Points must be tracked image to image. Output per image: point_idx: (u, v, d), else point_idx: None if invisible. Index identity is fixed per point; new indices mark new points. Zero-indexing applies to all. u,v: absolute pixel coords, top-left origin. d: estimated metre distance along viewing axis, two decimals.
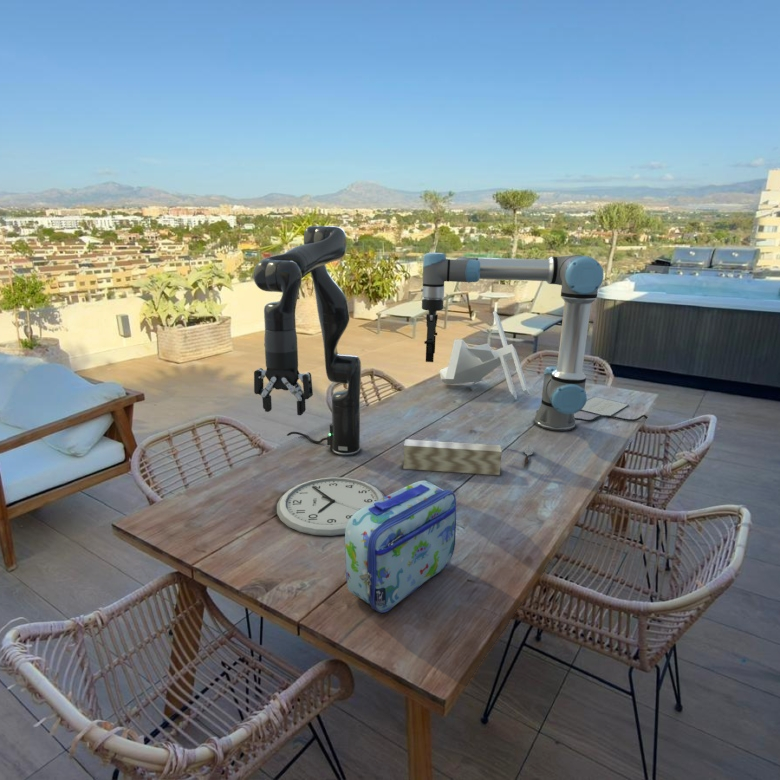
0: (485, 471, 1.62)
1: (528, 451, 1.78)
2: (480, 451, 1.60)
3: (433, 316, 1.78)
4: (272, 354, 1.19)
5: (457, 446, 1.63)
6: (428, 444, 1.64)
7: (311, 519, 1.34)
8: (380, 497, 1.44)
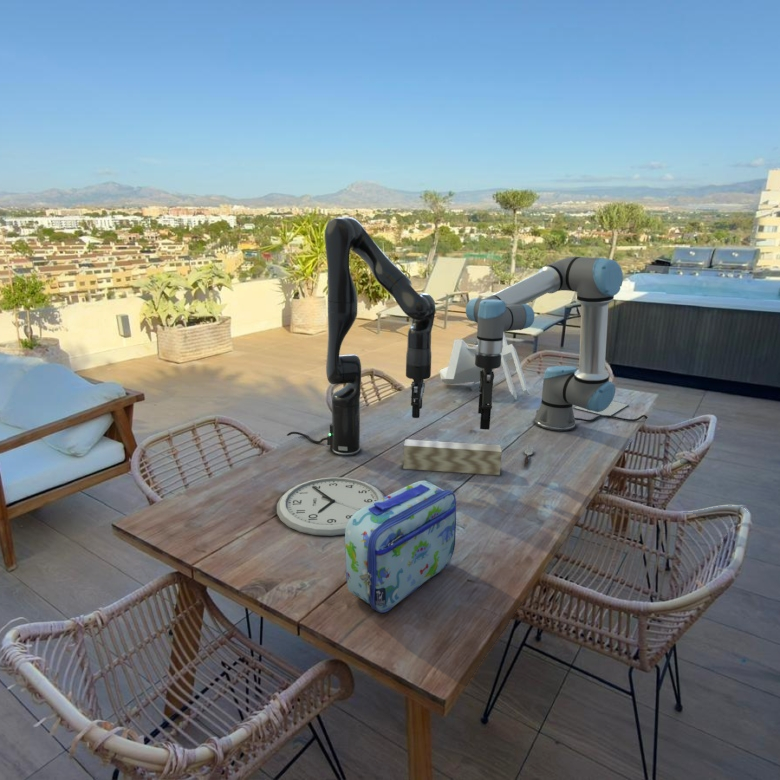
0: (485, 471, 1.62)
1: (528, 451, 1.78)
2: (480, 451, 1.60)
3: (491, 376, 1.49)
4: (430, 365, 1.56)
5: (457, 446, 1.63)
6: (428, 444, 1.64)
7: (311, 519, 1.34)
8: (380, 497, 1.44)
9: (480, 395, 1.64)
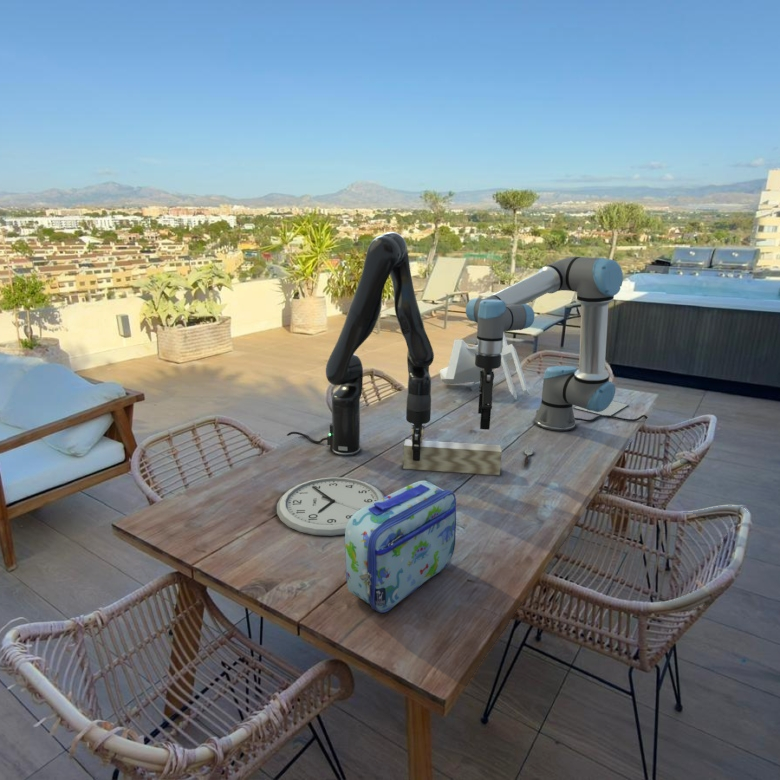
0: (485, 471, 1.62)
1: (528, 451, 1.78)
2: (480, 451, 1.60)
3: (491, 376, 1.49)
4: (430, 409, 1.60)
5: (457, 446, 1.63)
6: (428, 444, 1.64)
7: (311, 519, 1.34)
8: (380, 497, 1.44)
9: (480, 395, 1.64)
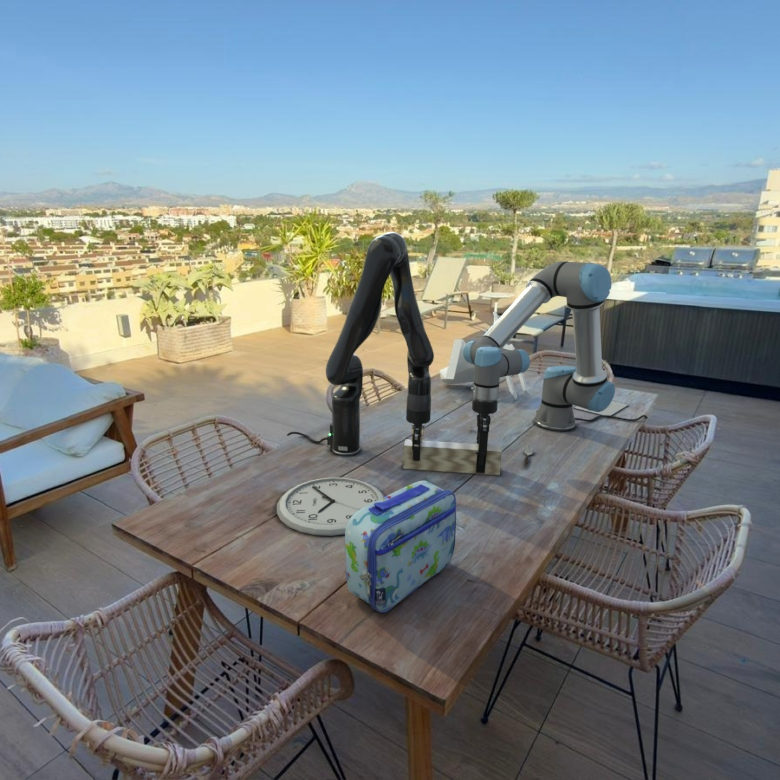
0: (485, 471, 1.62)
1: (528, 451, 1.78)
2: None
3: (487, 427, 1.53)
4: (430, 409, 1.60)
5: (457, 446, 1.63)
6: (428, 444, 1.64)
7: (311, 519, 1.34)
8: (380, 497, 1.44)
9: None
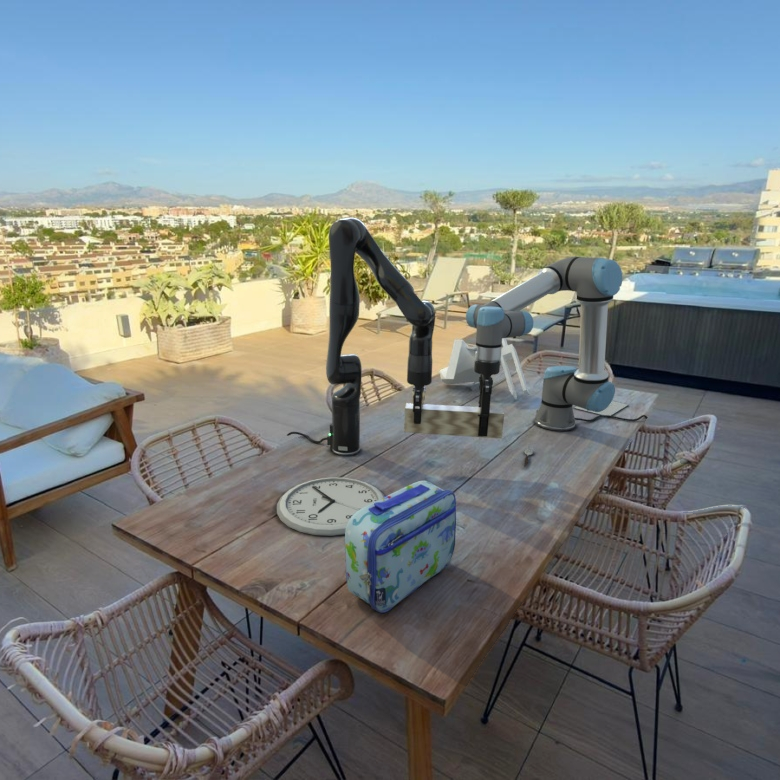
0: (487, 434, 1.60)
1: (528, 451, 1.78)
2: None
3: (489, 388, 1.51)
4: (431, 371, 1.58)
5: (459, 409, 1.61)
6: (429, 407, 1.62)
7: (311, 519, 1.34)
8: (380, 497, 1.44)
9: None
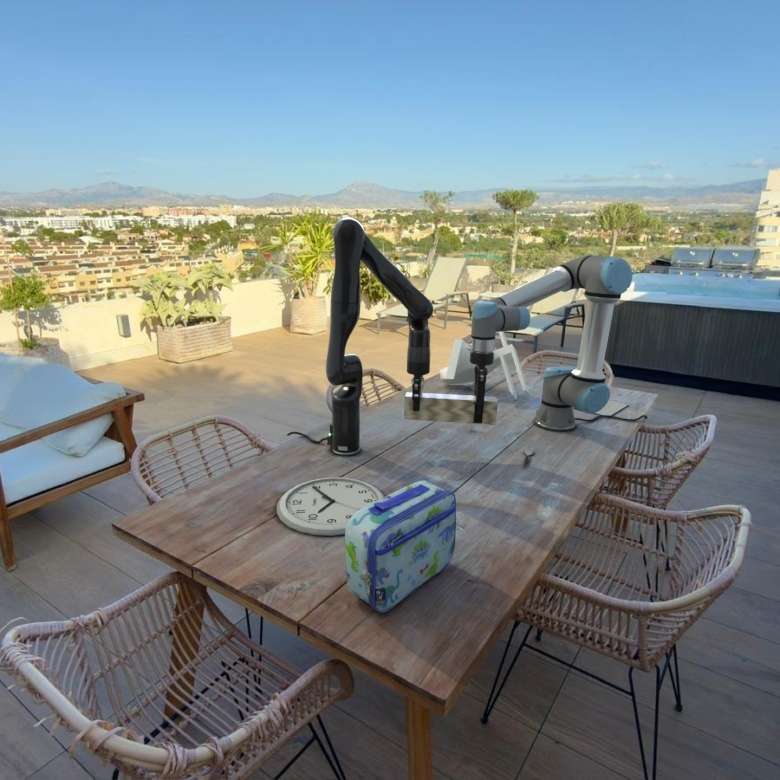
0: (482, 421, 1.70)
1: (528, 451, 1.78)
2: None
3: (484, 377, 1.62)
4: (429, 362, 1.69)
5: (455, 397, 1.71)
6: (427, 395, 1.72)
7: (311, 519, 1.34)
8: (380, 497, 1.44)
9: None
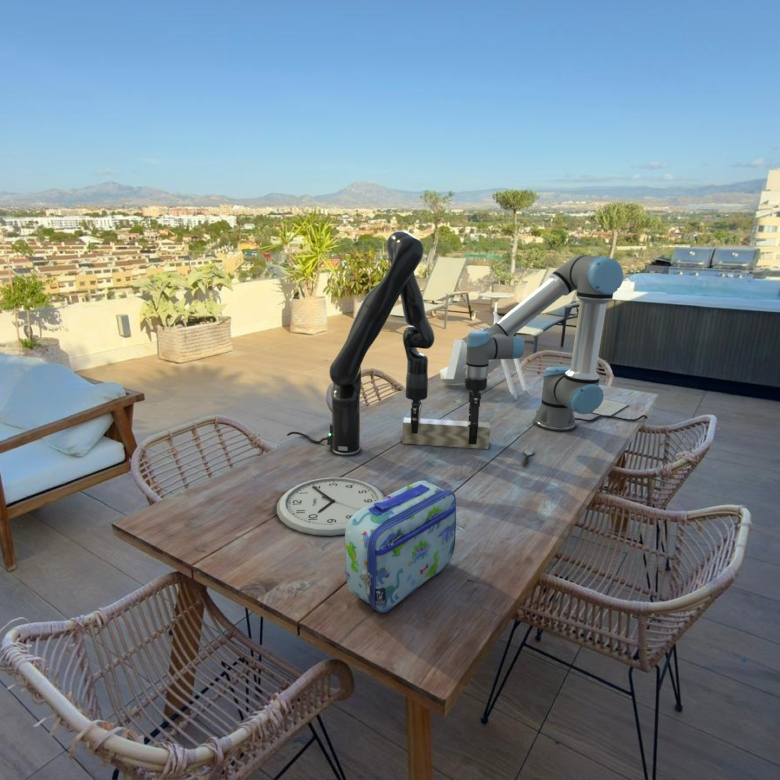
0: (475, 445, 1.81)
1: (528, 451, 1.78)
2: None
3: (478, 400, 1.72)
4: (427, 387, 1.79)
5: (450, 423, 1.82)
6: (424, 421, 1.83)
7: (311, 519, 1.34)
8: (380, 497, 1.44)
9: (469, 416, 1.86)
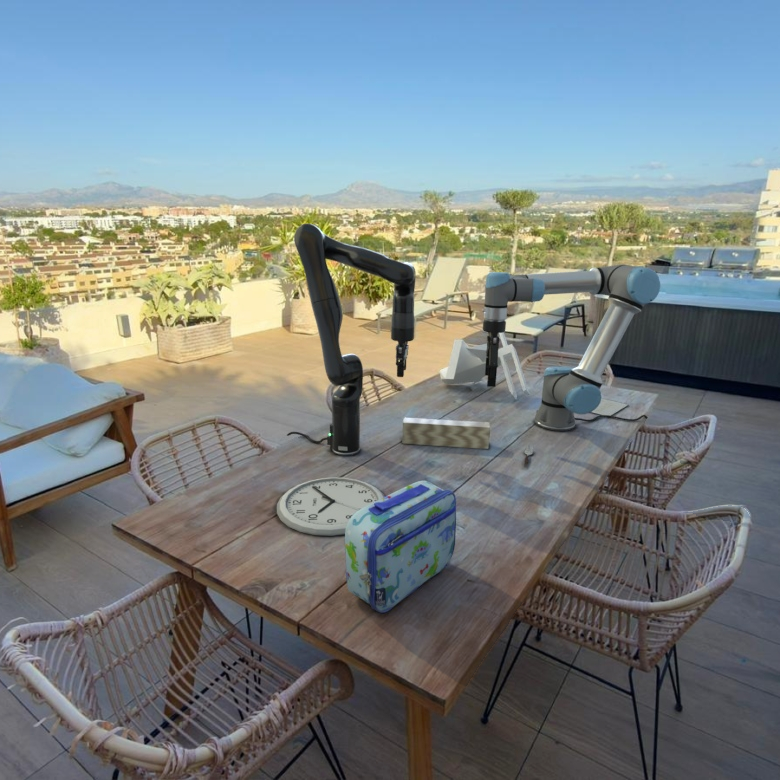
0: (475, 445, 1.81)
1: (528, 451, 1.78)
2: (471, 427, 1.79)
3: (497, 339, 1.69)
4: (413, 328, 1.70)
5: (450, 423, 1.82)
6: (424, 421, 1.83)
7: (311, 519, 1.34)
8: (380, 497, 1.44)
9: (487, 359, 1.85)
